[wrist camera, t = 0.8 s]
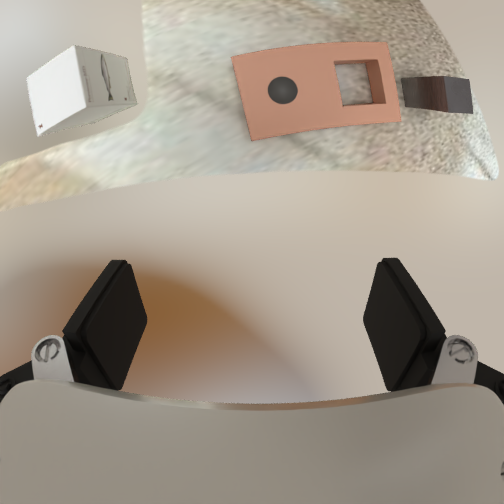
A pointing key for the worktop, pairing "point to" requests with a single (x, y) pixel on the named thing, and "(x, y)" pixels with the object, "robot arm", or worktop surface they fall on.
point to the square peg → (438, 94)
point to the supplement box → (79, 89)
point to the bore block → (312, 88)
